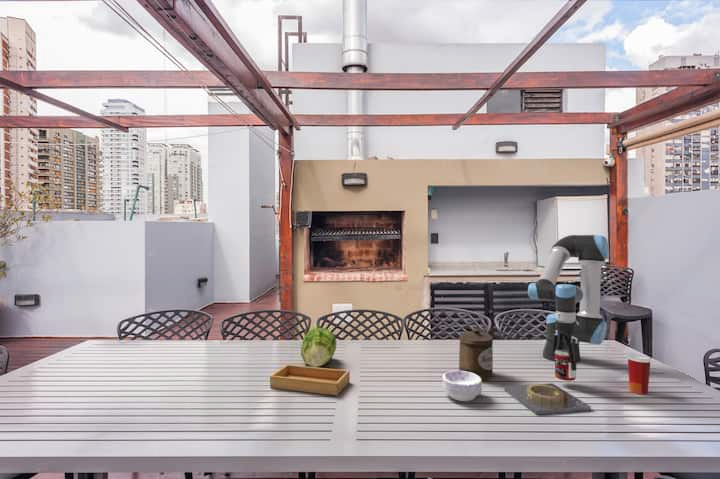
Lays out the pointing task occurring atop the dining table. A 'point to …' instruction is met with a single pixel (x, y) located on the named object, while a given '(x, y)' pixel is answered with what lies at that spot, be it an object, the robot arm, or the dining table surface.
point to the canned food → (562, 365)
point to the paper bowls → (462, 385)
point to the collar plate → (546, 406)
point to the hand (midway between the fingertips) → (565, 373)
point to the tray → (310, 379)
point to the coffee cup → (638, 372)
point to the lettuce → (318, 347)
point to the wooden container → (476, 353)
